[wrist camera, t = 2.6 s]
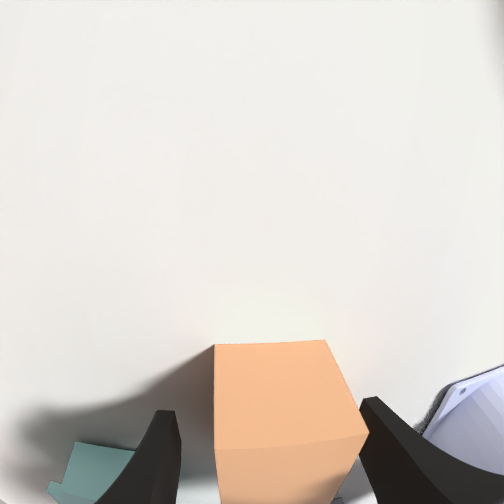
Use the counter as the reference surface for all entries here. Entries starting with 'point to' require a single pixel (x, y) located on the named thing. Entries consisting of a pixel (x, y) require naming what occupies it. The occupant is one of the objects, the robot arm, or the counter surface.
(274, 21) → the counter surface
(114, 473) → the lid
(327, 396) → the tan rectangular block
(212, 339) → the counter surface
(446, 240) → the counter surface
